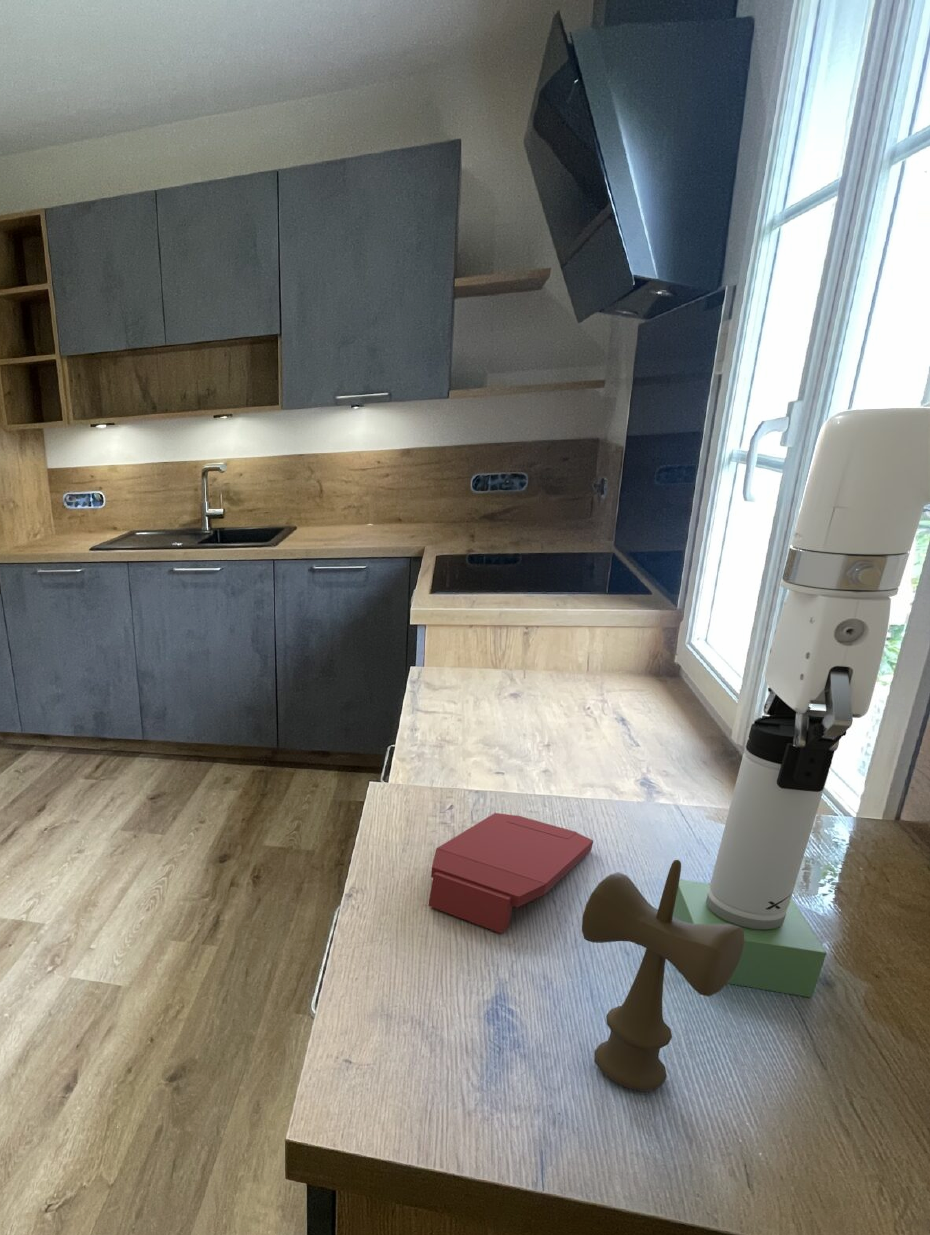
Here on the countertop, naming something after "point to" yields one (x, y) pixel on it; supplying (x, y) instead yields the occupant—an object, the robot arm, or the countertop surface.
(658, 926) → the kendama
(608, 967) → the countertop surface
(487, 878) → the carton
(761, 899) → the travel mug
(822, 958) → the green block
